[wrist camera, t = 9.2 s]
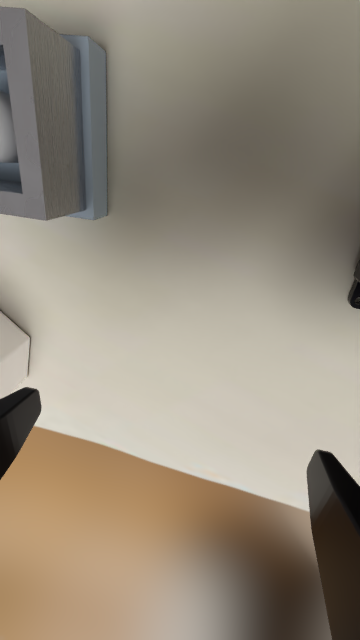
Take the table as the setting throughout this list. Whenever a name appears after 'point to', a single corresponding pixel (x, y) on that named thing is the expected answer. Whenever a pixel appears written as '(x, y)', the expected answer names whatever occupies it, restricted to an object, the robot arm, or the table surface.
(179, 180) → the table surface
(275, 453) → the table surface
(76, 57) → the collar
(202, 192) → the table surface
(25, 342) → the jar
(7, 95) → the shaft block
